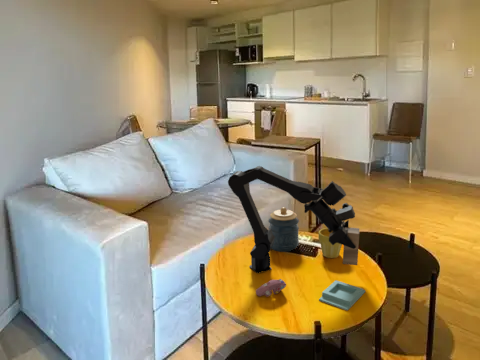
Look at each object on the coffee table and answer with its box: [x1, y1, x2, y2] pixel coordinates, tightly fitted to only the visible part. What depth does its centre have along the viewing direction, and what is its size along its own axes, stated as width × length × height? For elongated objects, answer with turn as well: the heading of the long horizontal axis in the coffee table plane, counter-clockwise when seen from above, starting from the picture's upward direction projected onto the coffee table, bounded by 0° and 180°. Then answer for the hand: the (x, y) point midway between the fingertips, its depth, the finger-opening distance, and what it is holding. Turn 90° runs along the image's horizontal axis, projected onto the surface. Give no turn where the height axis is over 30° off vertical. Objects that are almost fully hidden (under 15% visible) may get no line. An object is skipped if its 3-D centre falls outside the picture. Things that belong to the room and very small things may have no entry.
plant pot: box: [317, 227, 343, 259], centre depth 169 cm, size 10×10×10 cm
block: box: [342, 226, 360, 266], centre depth 148 cm, size 5×5×12 cm
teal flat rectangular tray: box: [318, 280, 366, 311], centre depth 139 cm, size 14×10×2 cm
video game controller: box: [255, 278, 287, 298], centre depth 141 cm, size 10×5×7 cm
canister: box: [267, 206, 300, 253], centre depth 177 cm, size 13×13×18 cm
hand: (355, 244), depth 147 cm, fingers closed on block, 5 cm apart
